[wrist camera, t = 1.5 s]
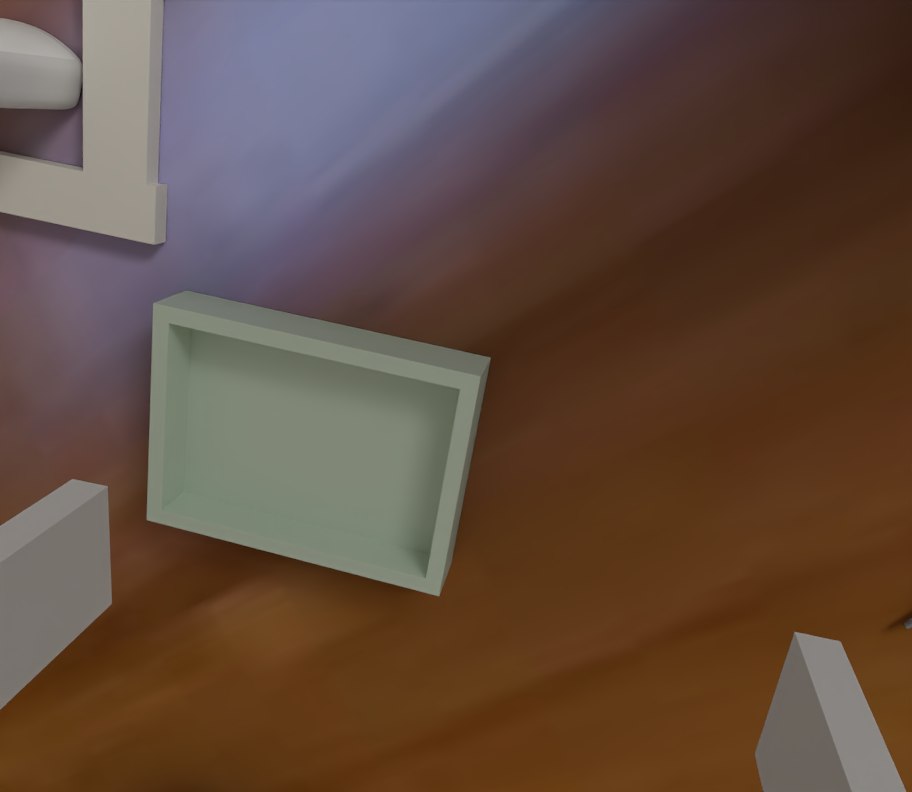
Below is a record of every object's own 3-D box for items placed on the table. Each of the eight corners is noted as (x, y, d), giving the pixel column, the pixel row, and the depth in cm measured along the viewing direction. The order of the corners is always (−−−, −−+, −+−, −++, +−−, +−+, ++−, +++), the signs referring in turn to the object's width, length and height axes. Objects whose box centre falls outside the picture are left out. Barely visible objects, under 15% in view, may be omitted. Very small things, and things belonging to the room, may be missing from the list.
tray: (186, 290, 39) (153, 303, 36) (491, 357, 37) (480, 376, 34) (176, 494, 43) (146, 520, 40) (451, 564, 41) (439, 596, 39)
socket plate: (-111, -129, 35) (-131, -135, 34) (177, -83, 34) (164, -89, 33) (-87, 188, 40) (-104, 189, 39) (165, 241, 38) (154, 244, 38)
